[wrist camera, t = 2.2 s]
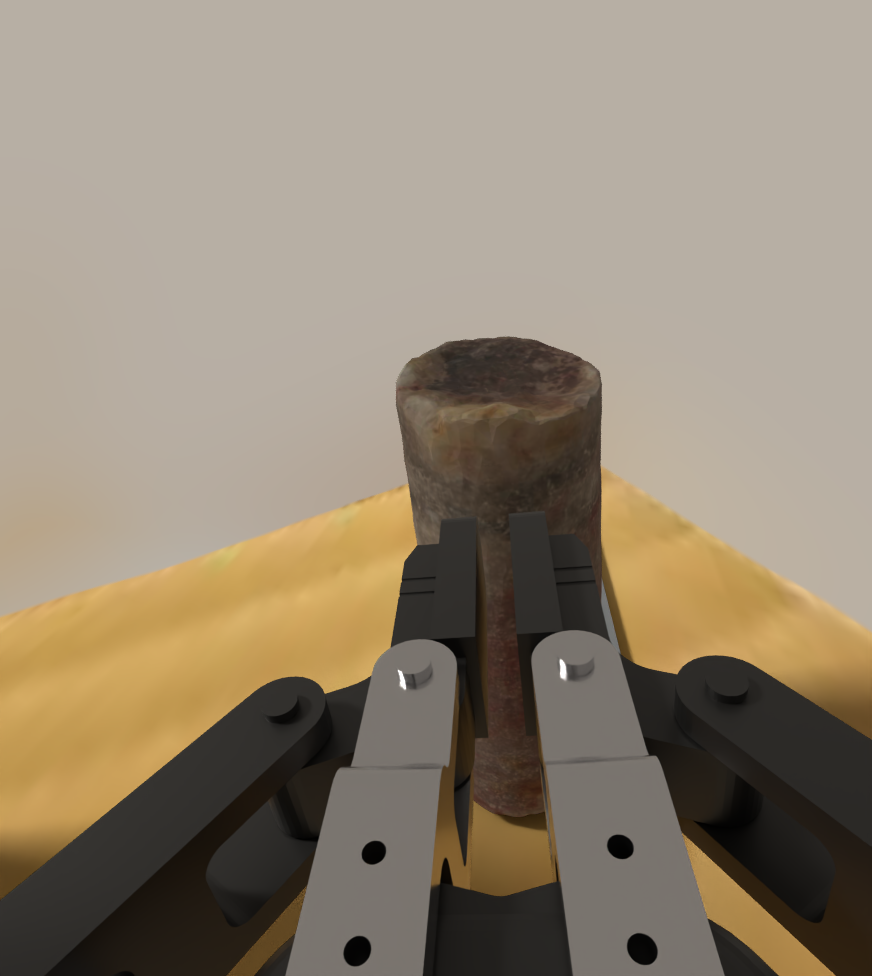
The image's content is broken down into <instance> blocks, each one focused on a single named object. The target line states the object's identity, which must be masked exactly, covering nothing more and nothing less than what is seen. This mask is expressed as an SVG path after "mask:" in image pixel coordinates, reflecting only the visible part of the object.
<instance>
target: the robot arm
mask: <svg viewBox="0 0 872 976" xmlns="http://www.w3.org/2000/svg"><path fill="white" fill-rule="evenodd" d="M509 527H510V542H511V557H512V572H513V588H514V603H515V618H516V633H517V644H518V655H519V665H520V676H521V687H522V698H523V708H524V719H525V730H526V736H537V738H538V749H539V761H540V773H541V783H542V791H543V800H544V808H545V817H546V825H547V833H548V842H549V850H550V859H551V867H552V876H553V883H550V884H546V885H543V886H539V887H536V888H532V889H529V890H525V891H522V892H519V893H515V894H512V895H508V896H492V895H488V894H484V893H480V892H477V891H473V890H470V874H471V849H472V824H473V799H474V771H473V766H474V761H475V738H489V732H488V648H487V597H486V584H485V575H484V566H483V558H482V549H481V541H480V532H479V524H478V518H477V516H474V517H461V518H448V519H441V526H440V536H439V544H428V545H417V546H416V548H415V549H414V550H413V551H412V553H411V554H410V555H409V557H408V558H407V559H406V560H405V562H404V568H403V575H402V582H401V587H400V597H399V599H398V605H397V611H396V618H395V624H394V630H393V636H392V642H391V648H390V649H388V650H387V651H386V652H384V653H383V654H382V655H381V656H380V658H379V659H378V660H377V662H376V663H375V665H374V668H373V672H372V676H370V677H368V678H367V679H365V680H363V681H361V682H359V683H357V684H355V685H352V686H349V687H346V688H343V689H339V690H336V691H333V692H330V693H327V694H325V693H324V691H323V689H322V688H321V687H320V685H319V684H317V683H316V682H315V681H313V680H310V679H308V678H304V677H286V678H281V679H278V680H274V681H272V682H270V683H267V684H266V685H264V686H262V687H260V688H259V689H258V690H256V691H255V692H254V693H252V694H251V695H250V696H249V697H247V698H246V699H245V700H244V701H243V702H241V703H240V704H239V705H238V706H236V707H235V708H234V709H233V710H232V711H230V712H229V713H228V714H227V715H226V716H224V717H223V718H222V719H221V720H219V721H218V722H217V723H216V724H215V725H213V726H212V727H211V728H210V729H208V730H207V731H206V732H205V733H204V734H202V735H201V736H200V737H199V738H197V739H196V740H195V741H194V742H193V743H191V744H190V745H189V746H188V747H187V748H185V749H184V750H183V751H182V752H180V753H179V754H178V755H177V756H176V757H174V758H173V759H172V760H171V761H169V762H168V763H167V764H166V765H165V766H163V767H162V768H161V769H160V770H158V771H157V772H156V773H155V774H154V775H152V776H151V777H150V778H149V779H148V780H146V781H145V782H144V783H143V784H141V785H140V786H139V787H138V788H137V789H135V790H134V791H133V792H132V793H130V794H129V795H128V796H127V797H126V798H124V799H123V800H122V801H121V802H119V803H118V804H117V805H116V806H115V807H113V808H112V809H111V810H110V811H108V812H107V813H106V814H105V815H104V816H102V817H101V818H100V819H99V820H98V821H96V822H95V823H94V824H93V825H91V826H90V827H89V828H88V829H87V830H85V831H84V832H83V833H82V834H80V835H79V836H78V837H77V838H76V839H74V840H73V841H72V842H71V843H69V844H68V845H67V846H66V847H65V848H63V849H62V850H61V851H60V852H59V853H57V854H56V855H55V856H54V857H52V858H51V859H50V860H49V861H48V862H46V863H45V864H44V865H43V866H41V867H40V868H39V869H38V870H37V871H35V872H34V873H33V874H32V875H30V876H29V877H28V878H27V879H26V880H24V881H23V882H22V883H21V884H20V885H18V886H17V887H16V888H15V889H13V890H12V891H11V892H10V893H9V894H7V895H6V896H5V897H4V898H2V899H1V900H0V976H226V975H227V974H228V973H229V972H230V971H231V970H232V969H233V967H234V966H235V965H236V964H237V963H238V962H239V961H240V960H241V958H242V957H243V956H244V955H245V954H246V953H247V952H248V951H249V949H250V948H251V947H252V946H253V945H254V944H255V943H256V942H257V941H258V939H259V938H260V937H261V936H262V935H263V934H264V933H265V932H266V930H267V929H268V928H269V927H270V926H271V925H272V924H273V923H274V922H275V920H276V919H277V918H278V917H279V916H280V915H281V914H282V913H283V911H284V910H285V909H286V908H287V907H288V906H289V905H290V904H291V902H292V901H293V900H294V899H295V898H296V897H297V896H298V895H299V894H300V892H301V891H302V890H303V889H304V888H305V887H306V886H307V889H306V893H305V898H304V902H303V906H302V910H301V914H300V918H299V922H298V926H297V930H296V934H295V935H293V936H292V937H291V938H290V939H289V940H288V941H286V942H285V943H284V944H283V945H282V946H281V947H280V948H279V949H278V950H277V951H276V952H275V953H274V954H273V955H272V956H271V957H270V958H269V959H268V960H267V962H266V963H265V964H264V965H263V966H262V967H261V968H260V970H259V971H258V972H257V973H256V974H255V975H254V976H778V975H777V974H776V973H775V972H774V971H773V970H772V969H771V968H770V967H769V966H768V965H767V964H766V963H765V962H764V961H763V960H762V959H761V958H760V957H759V956H758V955H757V954H756V953H755V952H754V951H753V950H751V949H750V948H749V947H748V946H747V945H746V944H744V943H743V942H742V941H740V940H739V939H738V938H737V937H735V936H734V935H733V934H732V933H730V932H729V931H727V930H726V929H724V928H723V927H721V926H719V925H718V924H716V923H715V922H713V921H712V920H710V919H708V918H707V915H706V912H705V909H704V905H703V902H702V899H701V896H700V892H699V889H698V886H697V882H696V879H695V876H694V872H693V869H692V866H691V862H690V859H689V856H688V852H687V849H686V846H685V842H684V839H683V836H682V833H683V834H684V835H685V836H687V837H688V838H689V839H690V840H691V841H692V842H693V843H694V844H695V845H696V846H697V847H698V848H699V849H701V850H702V851H703V852H704V853H705V854H706V855H707V856H708V857H709V858H710V859H711V860H712V861H713V862H714V863H716V864H717V865H718V866H719V867H720V868H721V869H722V870H723V871H724V872H725V873H726V874H727V875H728V876H730V877H731V878H732V879H733V880H734V881H735V882H736V883H737V884H738V885H739V886H740V887H741V888H742V889H743V890H745V891H746V892H747V893H748V894H749V895H750V896H751V897H752V898H753V899H754V900H755V901H756V902H757V903H759V904H760V905H761V906H762V907H763V908H764V909H765V910H766V911H767V912H768V913H769V914H770V915H771V916H772V917H774V918H775V919H776V920H777V921H778V922H779V923H780V924H781V925H782V926H783V927H784V928H785V929H786V930H788V931H789V932H790V933H791V934H792V935H793V936H794V937H795V938H796V939H797V940H798V941H799V942H800V943H801V944H803V945H804V946H805V947H806V948H807V949H808V950H809V951H810V952H811V953H812V954H813V955H814V956H815V957H817V958H818V959H819V960H820V961H821V962H822V963H823V964H824V965H825V966H826V967H827V968H828V969H829V970H830V971H832V972H833V973H834V974H835V975H836V976H872V740H871V739H870V738H868V737H866V736H865V735H863V734H862V733H860V732H858V731H857V730H855V729H854V728H852V727H851V726H849V725H847V724H846V723H844V722H843V721H841V720H839V719H838V718H836V717H835V716H833V715H832V714H830V713H828V712H827V711H825V710H824V709H822V708H821V707H819V706H817V705H816V704H814V703H813V702H811V701H809V700H808V699H806V698H805V697H803V696H802V695H800V694H798V693H797V692H795V691H794V690H792V689H790V688H789V687H787V686H786V685H784V684H783V683H781V682H779V681H778V680H776V679H775V678H773V677H772V676H770V675H768V674H767V673H765V672H764V671H762V670H760V669H759V668H757V667H756V666H754V665H752V664H750V663H748V662H745V661H743V660H740V659H737V658H733V657H728V656H717V655H715V656H705V657H700V658H697V659H694V660H692V661H690V662H688V663H687V664H686V665H684V666H683V667H682V668H681V670H680V671H679V673H678V675H677V674H672V673H667V672H661V671H656V670H652V669H648V668H645V667H642V666H639V665H637V664H635V663H633V662H631V661H629V660H628V659H626V658H625V657H623V656H622V655H621V654H620V653H619V652H618V651H617V650H616V648H615V647H614V646H613V645H612V643H611V641H610V638H609V635H608V630H607V626H606V622H605V618H604V613H603V609H602V605H601V601H600V597H599V592H598V588H597V584H596V580H595V575H594V571H593V569H592V563H591V558H590V554H589V550H588V548H587V547H586V546H585V545H584V543H583V542H582V541H581V540H580V539H579V538H578V537H577V536H576V535H575V534H561V535H548V529H547V523H546V516H545V511H536V512H524V513H511V514H509ZM681 831H682V832H681Z"/></svg>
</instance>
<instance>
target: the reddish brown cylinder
mask: <svg viewBox="0 0 872 976" xmlns="http://www.w3.org/2000/svg"><path fill="white" fill-rule="evenodd" d="M601 392H602V383H601V377H600V372H599V371H598V370H597V369H596V368H595V367H594V366H593V365H592V364H590V363H589V362H586V361H584V360H582V359H581V358H580V357H578V356H576V355H574V354H572V353H569V352H566V351H563V350H560V349H557V348H554V347H551V346H548V345H546V344H544V343H541V342H539V341H537V340H532V339H521V338H517V337H497V338H493V339H492V338H479V339H475V340H461V341H453V342H446V343H444V344H442V345H441V346H439V347H437V348H436V349H432V350H430V351H428V352H426V353H424V354H423V355H421V356H420V357H418V358H412V359H411V360H410V361H409V362H408V363H407V364H406V365H405V366H404V368H403V369H402V371H401V373H400V374H399V376H398V379H397V382H396V407H397V412H398V418H399V423H400V428H401V434H402V440H403V450H404V460H405V465H406V470H407V476H408V482H409V489H410V497H411V504H412V511H413V522H414V528H415V533H416V538H417V545H428V544H439V536H440V526H441V519H448V518H461V517H474V516H477V518H478V524H479V532H480V541H481V549H482V558H483V566H484V575H485V584H486V597H487V648H488V732H489V738H475V761H474V766H473V771H474V799H473V800H474V801H475V802H476V803H478V804H479V805H480V806H481V807H483V808H485V809H487V810H488V811H490V812H492V813H494V814H500V815H508V816H512V817H524V816H526V815H528V814H538V813H542V812H545V808H544V800H543V791H542V783H541V773H540V761H539V749H538V738H537V736H526V730H525V719H524V708H523V698H522V687H521V676H520V665H519V655H518V644H517V633H516V618H515V603H514V588H513V572H512V557H511V542H510V527H509V514H511V513H524V512H536V511H545V516H546V523H547V529H548V535H561V534H575V535H576V536H577V537H578V538H579V539H580V540H581V541H582V542H583V543H584V545H585V546H586V547H587V548H588V550H589V554H590V558H591V563H592V569H593V571H594V575H595V580H596V584H597V588H598V592H599V597H600V601H601V596H602V558H601V467H600V460H601V415H602V397H601V396H602V394H601ZM601 605H602V604H601Z"/></svg>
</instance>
